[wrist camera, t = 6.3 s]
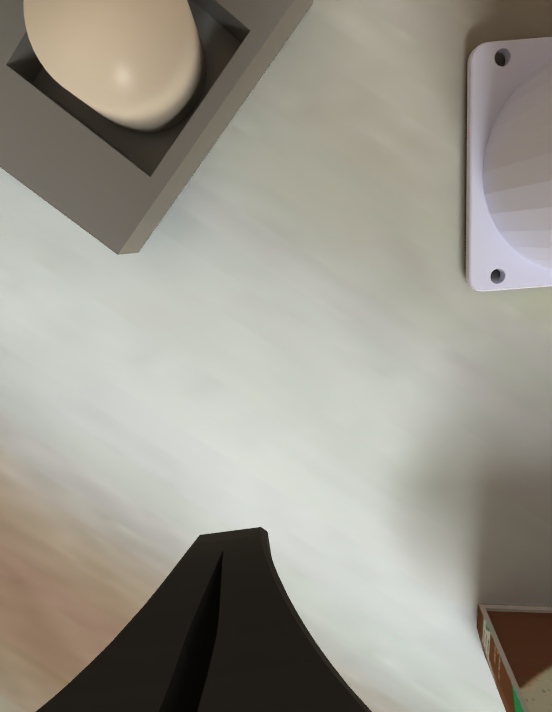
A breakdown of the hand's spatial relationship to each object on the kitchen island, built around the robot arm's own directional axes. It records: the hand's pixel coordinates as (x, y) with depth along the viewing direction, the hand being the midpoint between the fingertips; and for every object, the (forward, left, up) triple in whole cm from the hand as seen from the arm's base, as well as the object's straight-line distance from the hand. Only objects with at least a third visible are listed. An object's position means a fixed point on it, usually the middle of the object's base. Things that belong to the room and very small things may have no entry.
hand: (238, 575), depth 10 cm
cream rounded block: (+2, -12, -9) cm, 15 cm away
